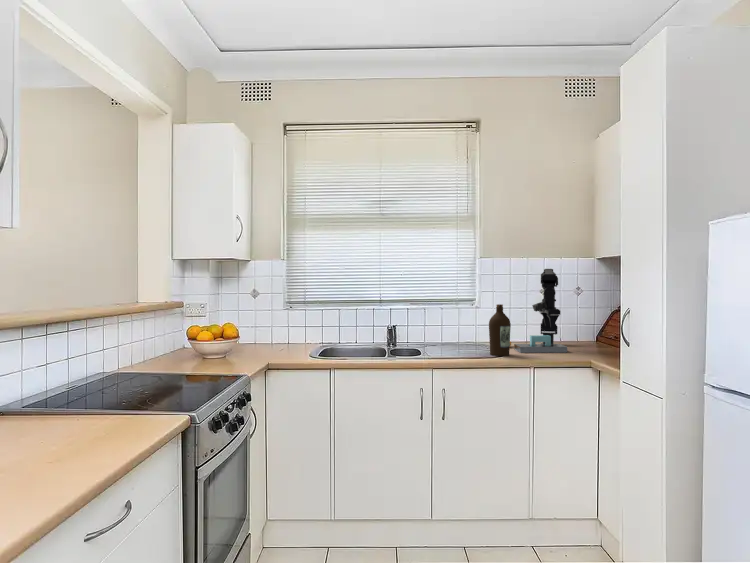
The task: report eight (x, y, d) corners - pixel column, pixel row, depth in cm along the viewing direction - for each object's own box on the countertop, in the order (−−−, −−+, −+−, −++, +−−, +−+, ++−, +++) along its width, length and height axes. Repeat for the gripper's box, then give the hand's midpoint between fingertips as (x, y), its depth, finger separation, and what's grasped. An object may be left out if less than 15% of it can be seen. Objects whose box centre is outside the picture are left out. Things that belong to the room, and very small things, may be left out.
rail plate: (514, 349, 300) (514, 343, 300) (559, 349, 300) (559, 343, 300) (520, 352, 288) (520, 346, 288) (567, 352, 288) (567, 346, 288)
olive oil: (484, 354, 283) (484, 304, 283) (499, 352, 289) (499, 303, 288) (499, 356, 274) (499, 305, 274) (515, 355, 280) (515, 304, 280)
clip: (529, 350, 295) (529, 335, 295) (548, 350, 296) (549, 335, 295) (531, 351, 292) (531, 336, 292) (550, 351, 292) (550, 336, 292)
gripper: (529, 296, 307) (529, 324, 308) (539, 298, 289) (538, 329, 289) (549, 296, 307) (549, 324, 308) (560, 298, 288) (560, 328, 289)
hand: (549, 326), depth 298 cm, fingers open, 9 cm apart
